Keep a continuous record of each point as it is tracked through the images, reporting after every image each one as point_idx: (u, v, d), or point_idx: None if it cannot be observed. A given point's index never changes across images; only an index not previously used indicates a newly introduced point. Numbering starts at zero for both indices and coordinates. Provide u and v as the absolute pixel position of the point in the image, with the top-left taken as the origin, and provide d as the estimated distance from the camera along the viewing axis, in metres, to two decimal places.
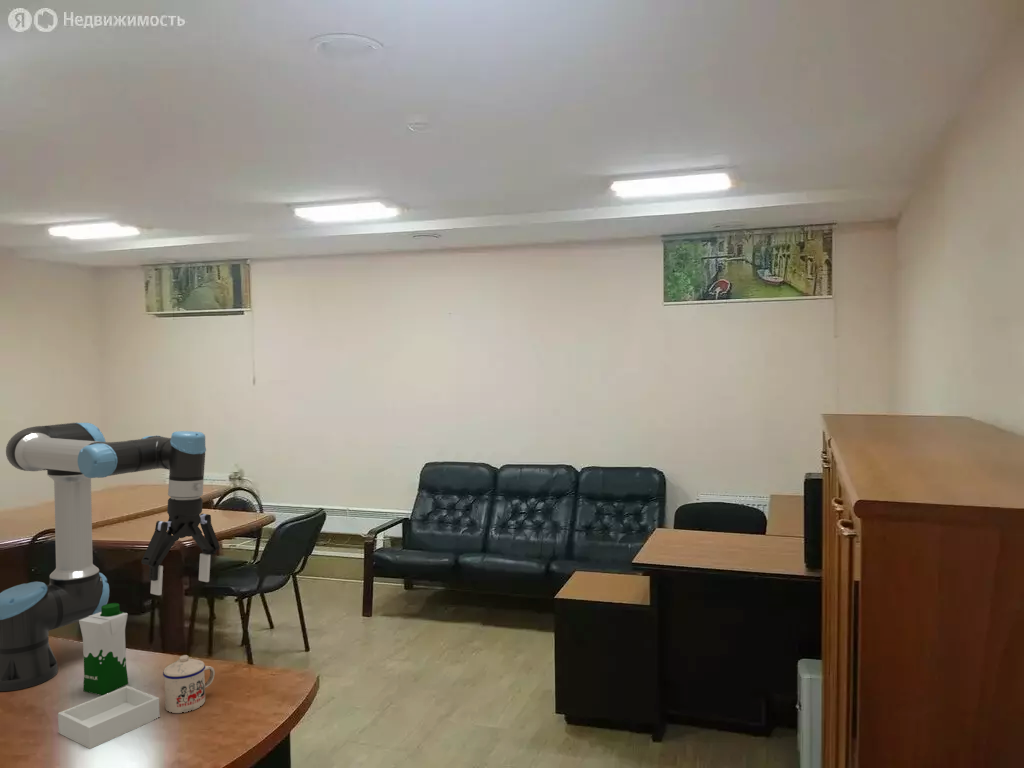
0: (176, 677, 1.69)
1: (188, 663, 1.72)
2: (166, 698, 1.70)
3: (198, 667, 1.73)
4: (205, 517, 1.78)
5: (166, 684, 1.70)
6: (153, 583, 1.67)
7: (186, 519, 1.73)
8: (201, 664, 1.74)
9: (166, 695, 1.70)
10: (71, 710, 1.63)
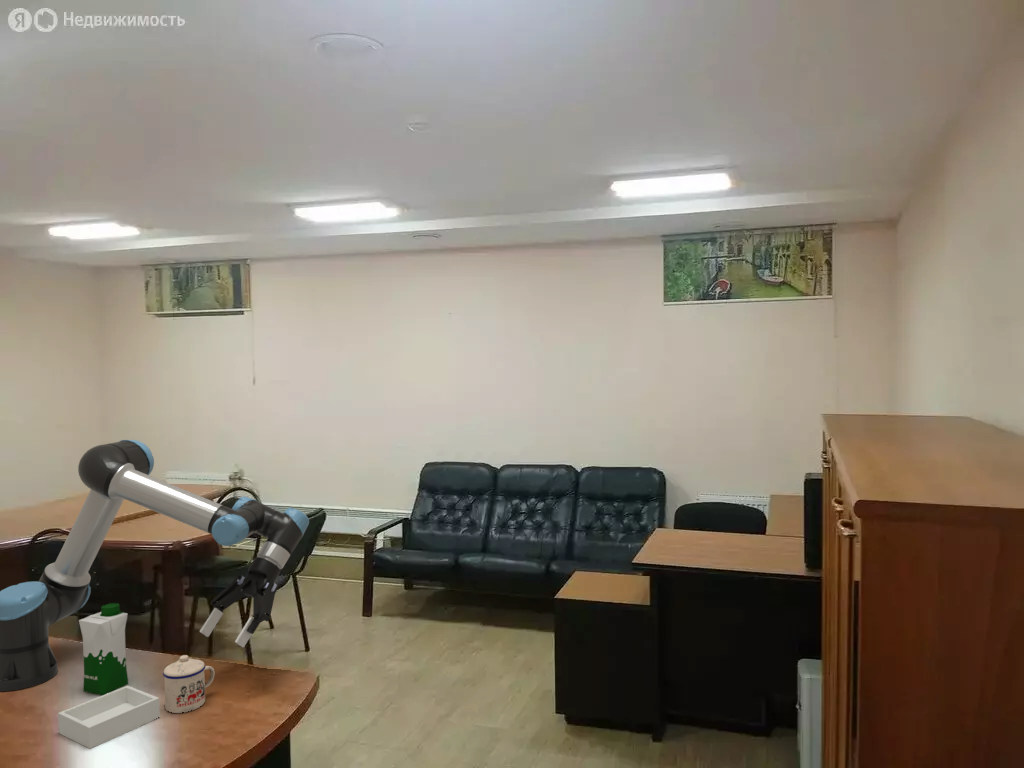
0: (176, 677, 1.69)
1: (188, 663, 1.72)
2: (166, 698, 1.70)
3: (198, 667, 1.73)
4: None
5: (166, 684, 1.70)
6: (244, 634, 1.78)
7: None
8: (201, 664, 1.74)
9: (166, 695, 1.70)
10: (71, 710, 1.63)
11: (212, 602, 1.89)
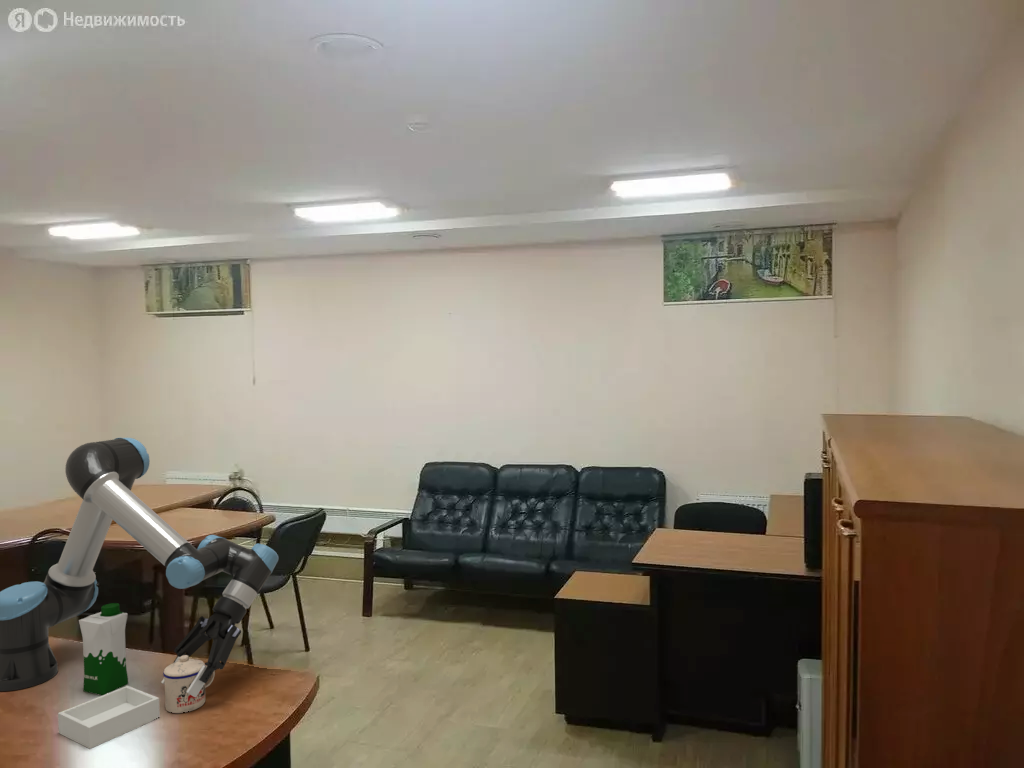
0: (176, 677, 1.69)
1: (188, 663, 1.72)
2: (166, 698, 1.70)
3: (198, 667, 1.73)
4: None
5: (166, 684, 1.70)
6: (196, 684, 1.70)
7: None
8: (201, 664, 1.74)
9: (166, 695, 1.70)
10: (71, 710, 1.63)
11: (176, 650, 1.80)
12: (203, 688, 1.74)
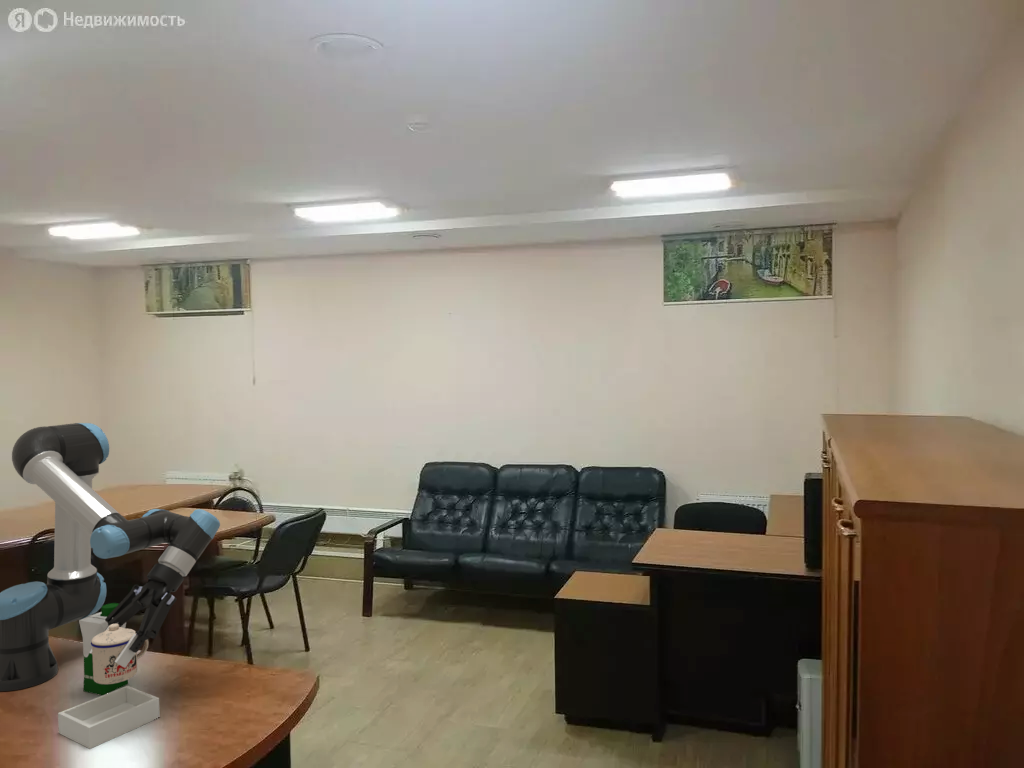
0: (104, 646, 1.59)
1: (118, 631, 1.63)
2: (94, 668, 1.61)
3: (129, 635, 1.63)
4: None
5: (94, 654, 1.61)
6: (125, 653, 1.61)
7: None
8: (132, 633, 1.65)
9: (94, 665, 1.61)
10: (71, 710, 1.63)
11: (107, 619, 1.70)
12: (134, 658, 1.64)
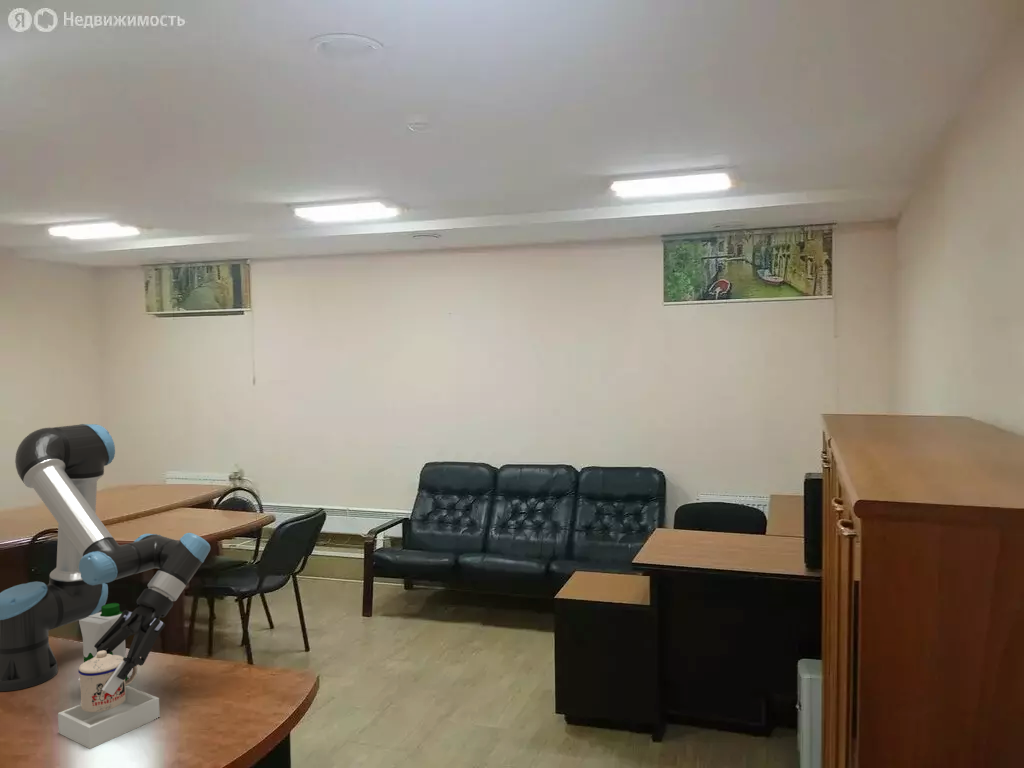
0: (91, 674, 1.58)
1: (106, 658, 1.62)
2: (81, 696, 1.60)
3: (117, 662, 1.62)
4: None
5: (81, 681, 1.59)
6: (113, 681, 1.59)
7: None
8: (120, 660, 1.63)
9: (81, 693, 1.60)
10: (71, 710, 1.63)
11: (96, 645, 1.69)
12: (122, 685, 1.63)
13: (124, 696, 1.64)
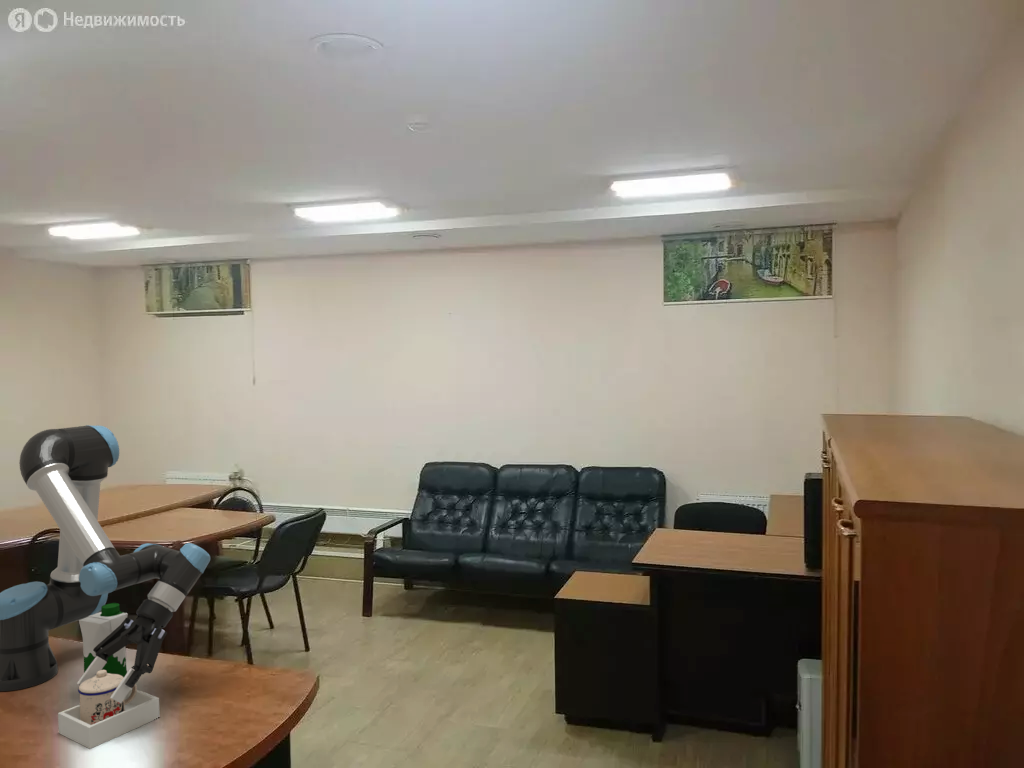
0: (91, 694, 1.59)
1: (106, 678, 1.62)
2: (81, 715, 1.60)
3: (116, 682, 1.62)
4: None
5: (81, 701, 1.60)
6: (121, 689, 1.59)
7: None
8: (120, 679, 1.64)
9: (81, 712, 1.60)
10: (71, 710, 1.63)
11: (95, 649, 1.71)
12: (121, 705, 1.63)
13: None
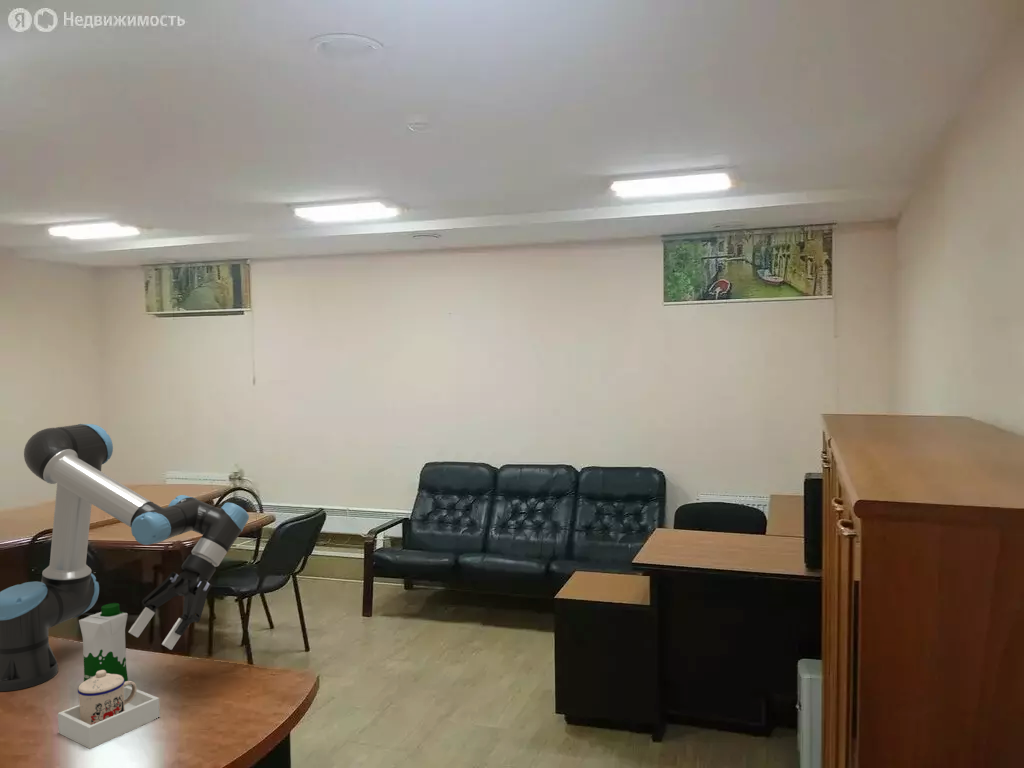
0: (90, 694, 1.59)
1: (105, 678, 1.62)
2: (80, 715, 1.60)
3: (116, 682, 1.62)
4: None
5: (80, 701, 1.60)
6: (171, 636, 1.70)
7: None
8: (120, 679, 1.64)
9: (81, 713, 1.60)
10: (71, 710, 1.63)
11: (143, 601, 1.81)
12: (121, 705, 1.63)
13: None
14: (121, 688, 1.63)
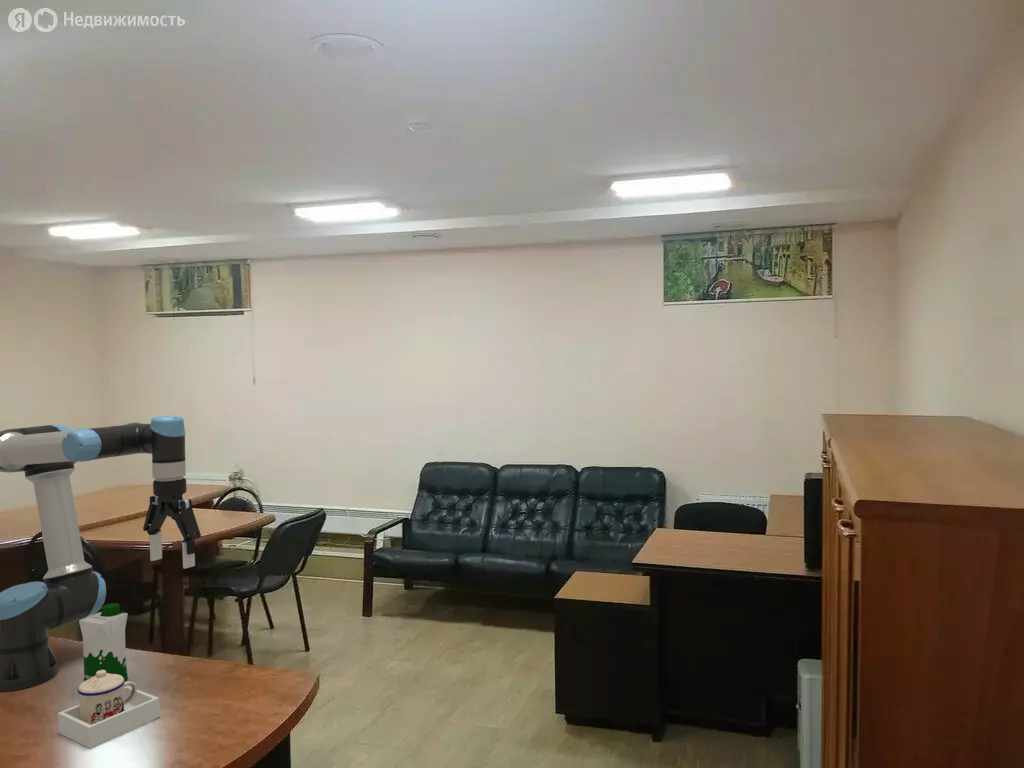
0: (90, 694, 1.59)
1: (105, 678, 1.62)
2: (80, 715, 1.60)
3: (116, 682, 1.62)
4: None
5: (80, 701, 1.60)
6: (187, 558, 1.79)
7: None
8: (120, 679, 1.64)
9: (81, 713, 1.60)
10: (71, 710, 1.63)
11: (145, 529, 1.87)
12: (121, 705, 1.63)
13: None
14: (121, 688, 1.63)
